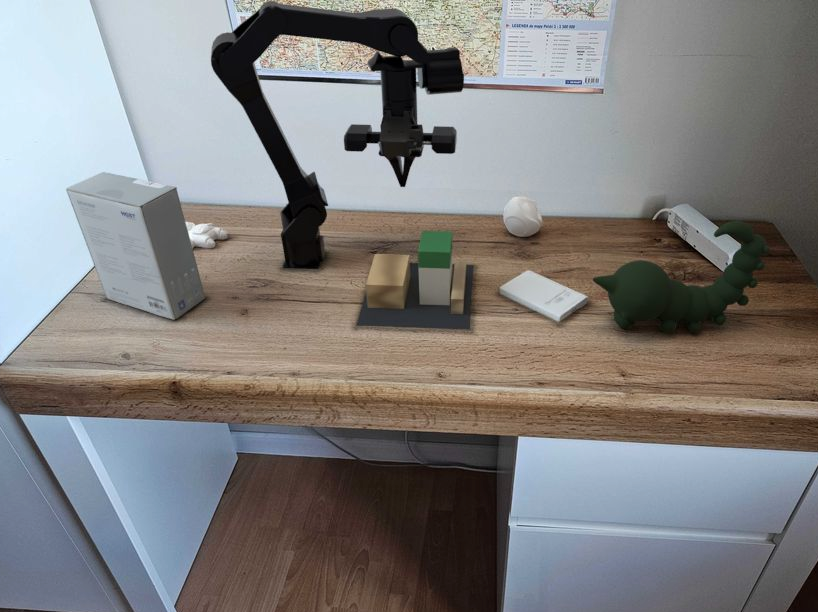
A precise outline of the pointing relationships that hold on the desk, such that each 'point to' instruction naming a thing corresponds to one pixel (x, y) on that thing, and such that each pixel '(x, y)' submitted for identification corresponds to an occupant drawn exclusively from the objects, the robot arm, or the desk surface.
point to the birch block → (388, 281)
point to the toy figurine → (684, 287)
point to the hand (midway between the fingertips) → (403, 186)
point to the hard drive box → (138, 243)
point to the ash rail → (458, 287)
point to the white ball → (522, 217)
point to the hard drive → (543, 295)
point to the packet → (435, 267)
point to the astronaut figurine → (204, 234)
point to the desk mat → (420, 309)
